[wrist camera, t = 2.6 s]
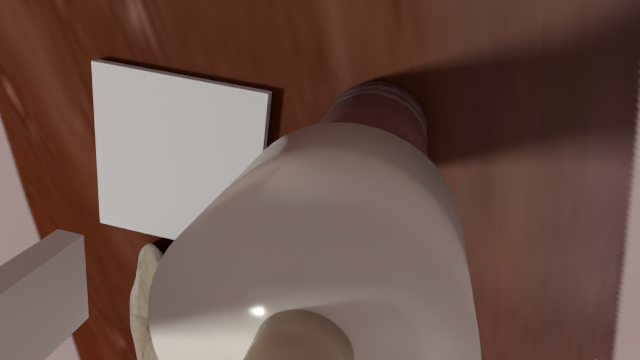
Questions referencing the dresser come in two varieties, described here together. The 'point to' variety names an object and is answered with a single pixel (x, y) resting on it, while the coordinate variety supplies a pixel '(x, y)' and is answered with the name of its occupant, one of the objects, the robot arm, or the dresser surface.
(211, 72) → the dresser surface
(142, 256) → the stone
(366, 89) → the can
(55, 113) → the dresser surface
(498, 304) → the dresser surface
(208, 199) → the mat
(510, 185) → the dresser surface
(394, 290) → the cloche
